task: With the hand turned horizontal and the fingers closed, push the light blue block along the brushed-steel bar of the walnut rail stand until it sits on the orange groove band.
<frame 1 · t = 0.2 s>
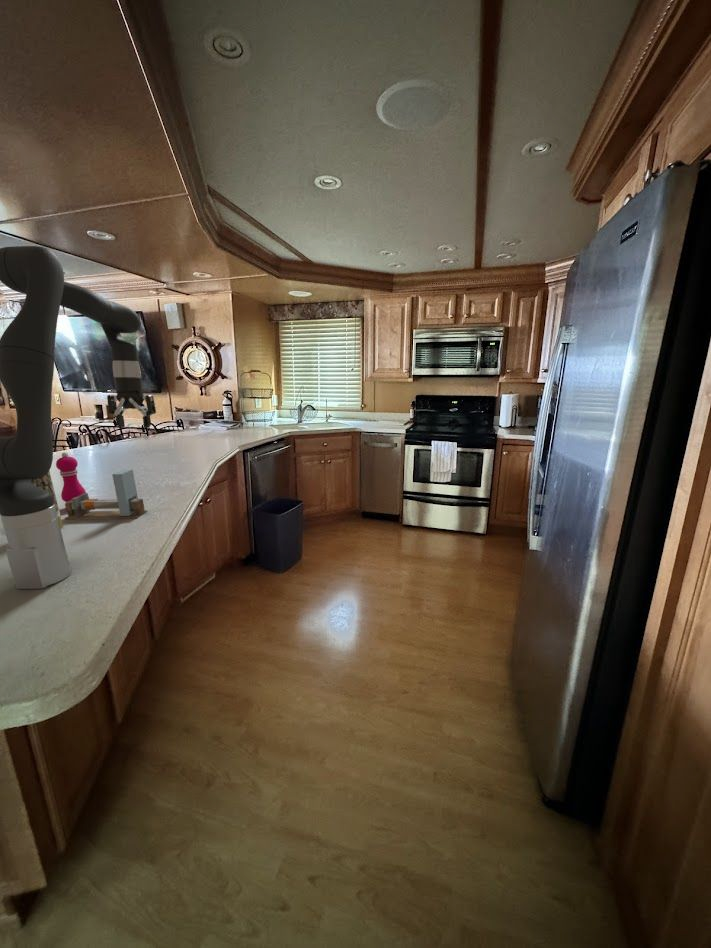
hand: (134, 427, 122), 29 cm above the countertop, tool pointing down, fingers open, 8 cm apart
pepper mill: (76, 507, 135), on the countertop
rail: (107, 515, 126), on the countertop
paper tube: (49, 531, 114), on the countertop
light blue block: (126, 492, 123), point 8 cm above the countertop, slide at 0.0 cm
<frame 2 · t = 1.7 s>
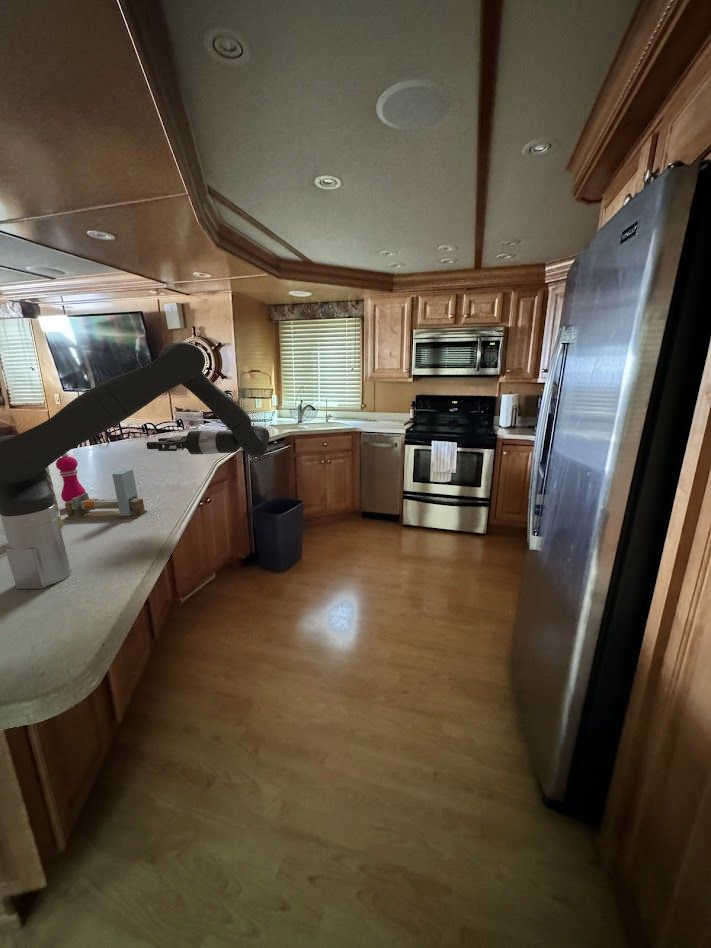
hand: (153, 443, 119), 24 cm above the countertop, tool horizontal, fingers open, 6 cm apart
nothing on the countertop moved.
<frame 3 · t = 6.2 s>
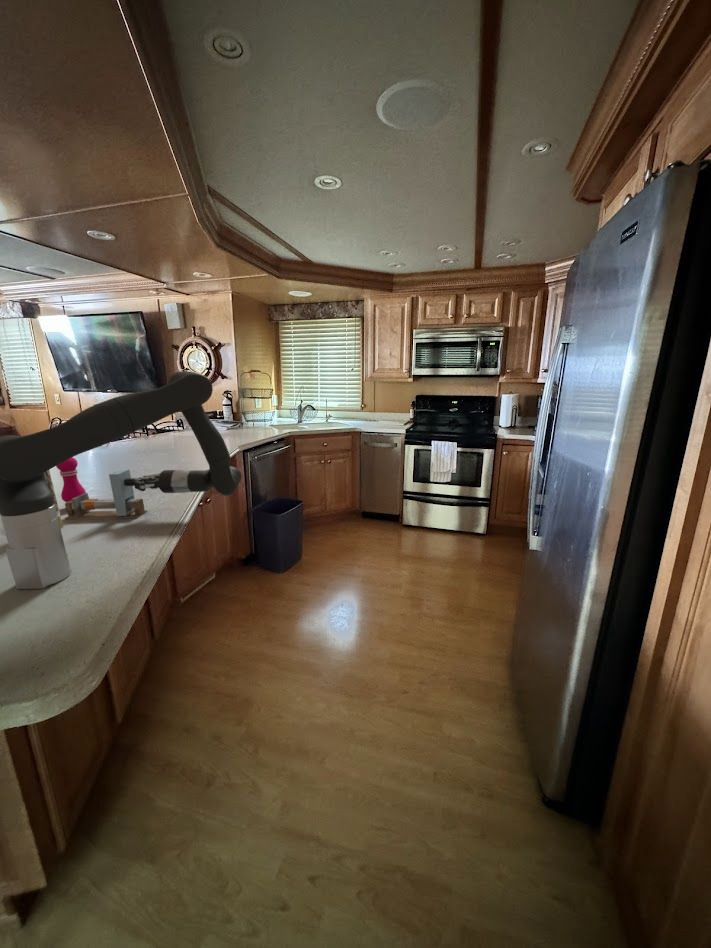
hand: (125, 482, 123), 11 cm above the countertop, tool horizontal, fingers closed
light blue block: (123, 492, 124), point 8 cm above the countertop, slide at 1.1 cm, touching gripper
everything else where it was.
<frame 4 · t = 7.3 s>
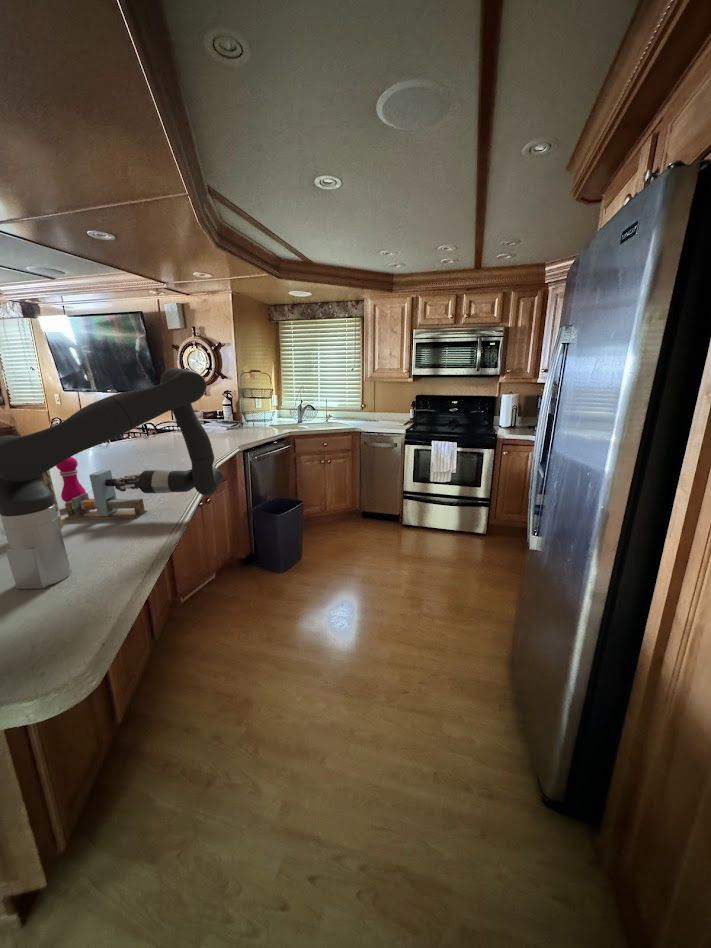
hand: (106, 482, 123), 11 cm above the countertop, tool horizontal, fingers closed
light blue block: (104, 492, 124), point 8 cm above the countertop, slide at 7.4 cm, touching gripper
everything else where it was.
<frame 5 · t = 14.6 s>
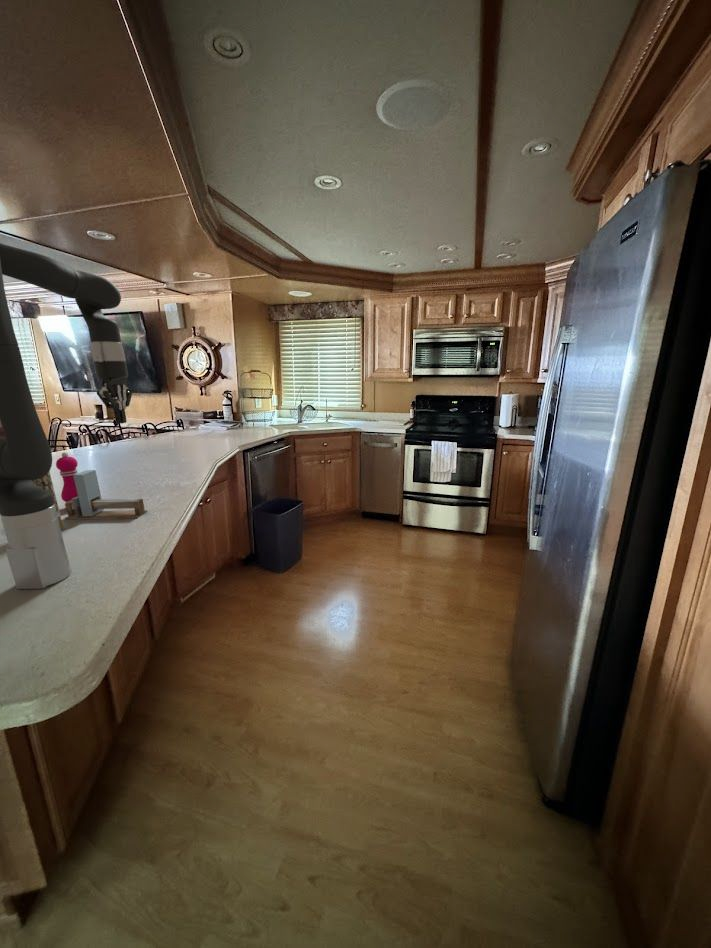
hand: (121, 423, 107), 32 cm above the countertop, tool pointing down, fingers closed
light blue block: (89, 493, 124), point 8 cm above the countertop, slide at 12.5 cm
everything else where it was.
at the end: light blue block slide at 12.5 cm; the gripper is holding nothing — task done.
